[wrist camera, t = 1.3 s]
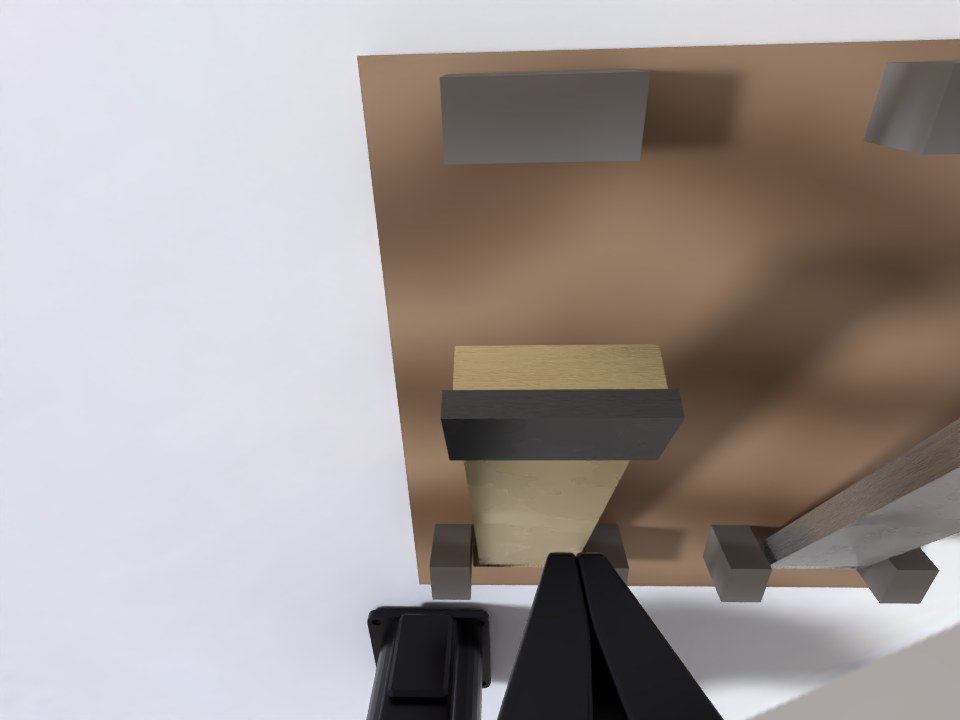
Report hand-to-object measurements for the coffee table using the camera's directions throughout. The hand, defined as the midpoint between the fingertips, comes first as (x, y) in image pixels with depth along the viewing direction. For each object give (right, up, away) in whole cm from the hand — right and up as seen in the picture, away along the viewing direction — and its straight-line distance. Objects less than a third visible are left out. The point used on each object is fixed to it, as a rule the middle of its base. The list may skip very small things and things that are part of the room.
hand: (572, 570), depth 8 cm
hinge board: (+6, +3, +13) cm, 15 cm away
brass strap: (0, -1, +9) cm, 9 cm away
